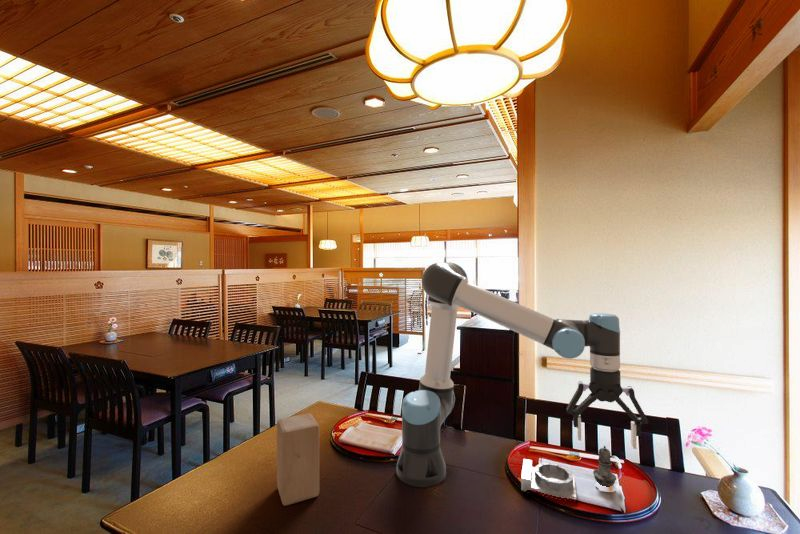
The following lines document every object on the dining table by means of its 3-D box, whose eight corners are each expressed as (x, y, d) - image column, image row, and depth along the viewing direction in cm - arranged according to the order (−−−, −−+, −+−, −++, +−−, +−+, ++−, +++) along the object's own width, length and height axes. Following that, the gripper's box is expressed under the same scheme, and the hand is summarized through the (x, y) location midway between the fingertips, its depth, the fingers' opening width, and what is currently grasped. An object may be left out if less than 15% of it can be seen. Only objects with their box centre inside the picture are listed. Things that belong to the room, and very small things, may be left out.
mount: (521, 490, 101) (521, 476, 101) (523, 469, 112) (523, 456, 112) (576, 502, 96) (576, 487, 96) (573, 480, 106) (573, 466, 106)
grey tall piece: (619, 495, 99) (620, 452, 99) (596, 492, 100) (596, 449, 100) (611, 482, 105) (612, 441, 105) (590, 480, 106) (590, 439, 106)
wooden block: (282, 508, 94) (282, 432, 94) (276, 487, 103) (276, 418, 103) (320, 497, 99) (320, 424, 99) (311, 477, 108) (311, 411, 107)
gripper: (557, 367, 104) (558, 440, 104) (661, 376, 94) (662, 457, 94) (557, 361, 111) (557, 429, 111) (653, 368, 101) (654, 443, 101)
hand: (605, 442), depth 103 cm, fingers open, 13 cm apart
